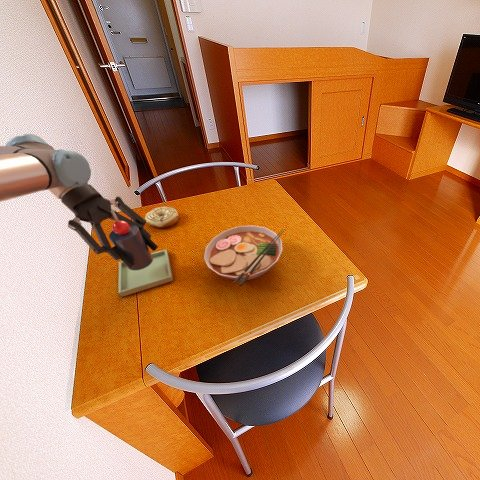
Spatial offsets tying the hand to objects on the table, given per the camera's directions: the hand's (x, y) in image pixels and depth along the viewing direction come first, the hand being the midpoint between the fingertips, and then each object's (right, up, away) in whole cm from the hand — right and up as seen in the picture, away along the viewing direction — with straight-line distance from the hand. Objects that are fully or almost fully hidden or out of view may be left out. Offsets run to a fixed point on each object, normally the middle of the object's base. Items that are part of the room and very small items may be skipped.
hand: (144, 257), depth 76 cm
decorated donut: (-9, +12, +26) cm, 30 cm away
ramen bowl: (+26, -3, +10) cm, 28 cm away
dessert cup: (-3, -2, +3) cm, 5 cm away
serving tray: (-3, -5, +6) cm, 9 cm away
